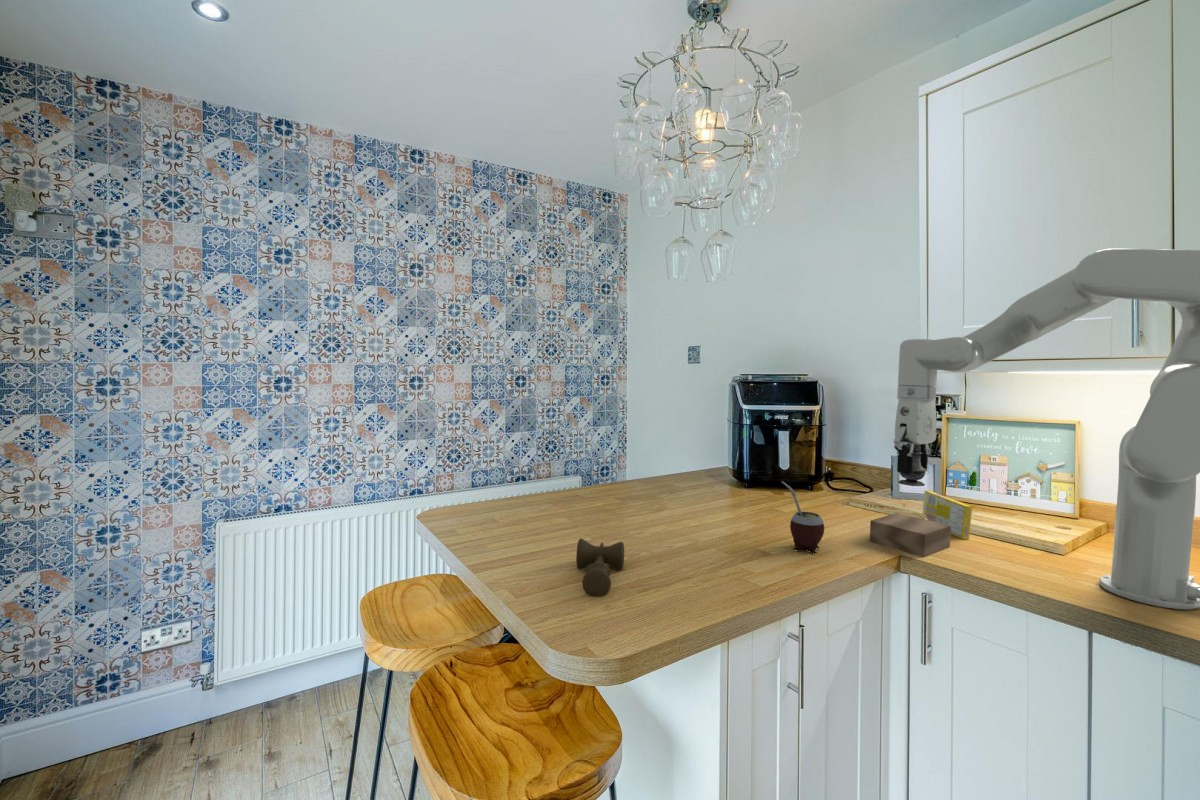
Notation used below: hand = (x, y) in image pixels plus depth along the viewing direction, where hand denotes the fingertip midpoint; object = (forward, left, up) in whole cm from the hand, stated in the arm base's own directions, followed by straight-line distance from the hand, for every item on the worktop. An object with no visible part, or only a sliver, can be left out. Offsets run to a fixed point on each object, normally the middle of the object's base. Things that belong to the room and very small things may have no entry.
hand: (912, 470), depth 118 cm
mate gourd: (+11, +24, -18) cm, 32 cm away
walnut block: (0, 0, -17) cm, 17 cm away
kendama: (+23, +71, -18) cm, 77 cm away
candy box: (+1, -20, -18) cm, 27 cm away
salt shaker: (0, 0, -3) cm, 3 cm away
